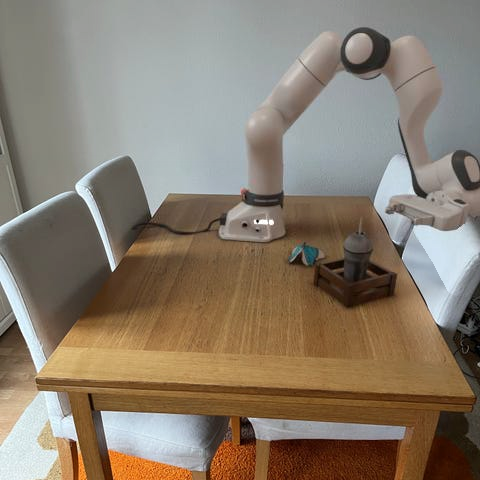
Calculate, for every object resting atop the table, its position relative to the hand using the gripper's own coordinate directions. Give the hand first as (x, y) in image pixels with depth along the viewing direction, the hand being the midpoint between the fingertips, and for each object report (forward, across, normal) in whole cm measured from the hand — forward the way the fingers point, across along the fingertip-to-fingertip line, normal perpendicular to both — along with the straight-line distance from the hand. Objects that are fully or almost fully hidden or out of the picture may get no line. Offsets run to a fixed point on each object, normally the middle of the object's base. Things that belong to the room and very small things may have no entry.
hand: (399, 216), depth 120 cm
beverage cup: (+12, 0, +18) cm, 22 cm away
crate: (+12, 0, +18) cm, 22 cm away
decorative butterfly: (+13, -22, +18) cm, 31 cm away
